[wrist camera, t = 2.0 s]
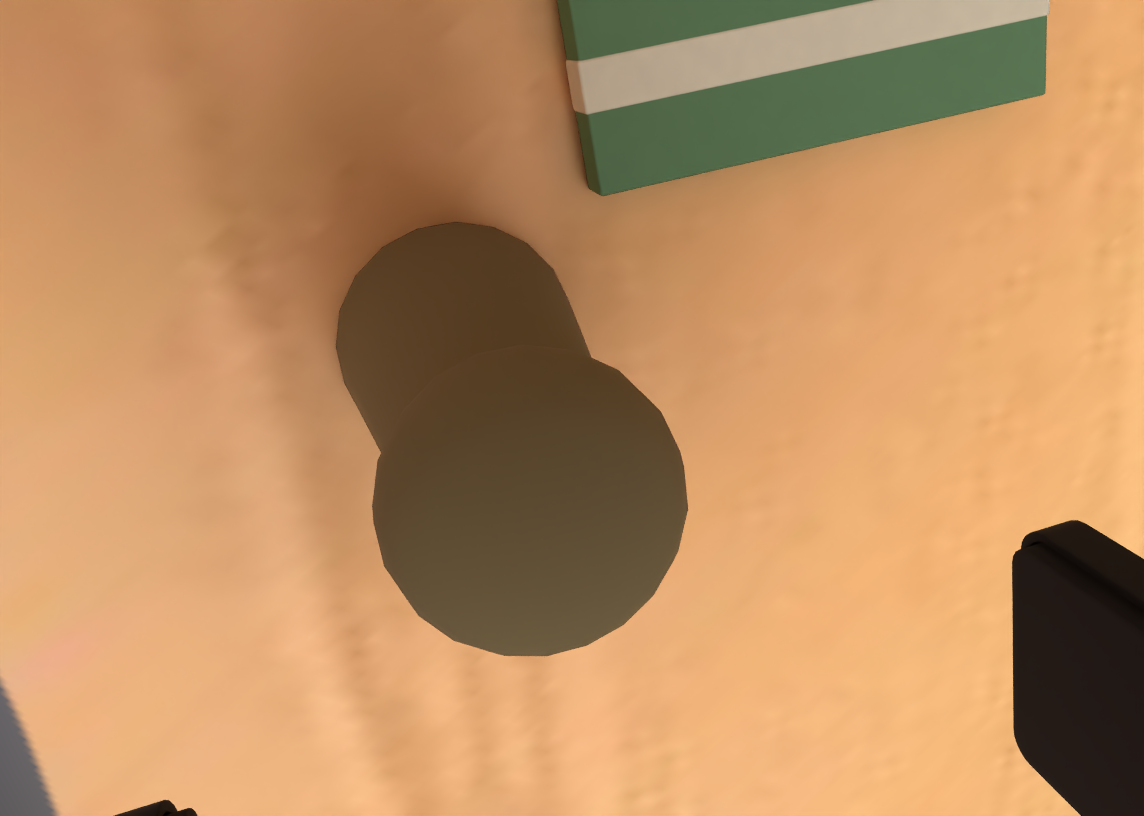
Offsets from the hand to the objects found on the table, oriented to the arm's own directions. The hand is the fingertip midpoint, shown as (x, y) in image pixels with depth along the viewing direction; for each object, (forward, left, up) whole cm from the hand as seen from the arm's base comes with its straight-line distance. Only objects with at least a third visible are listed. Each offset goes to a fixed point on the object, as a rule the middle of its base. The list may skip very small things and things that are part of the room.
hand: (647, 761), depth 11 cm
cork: (0, 0, -16) cm, 16 cm away
